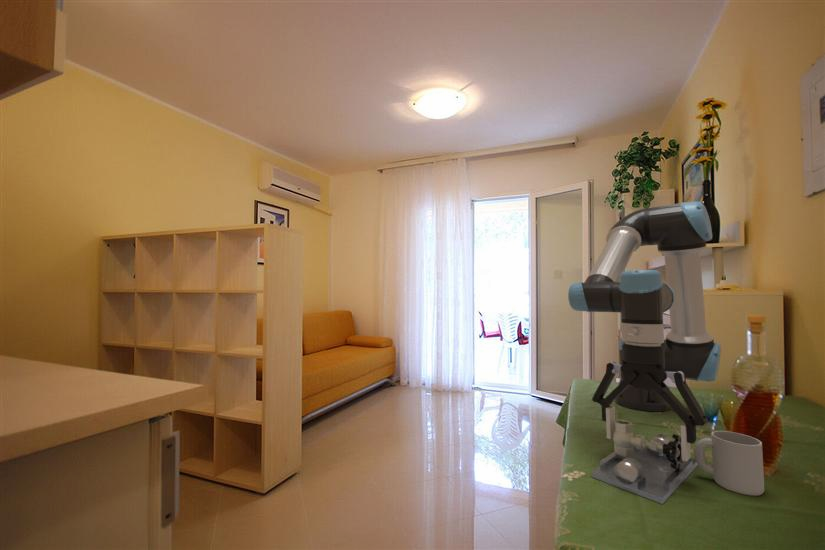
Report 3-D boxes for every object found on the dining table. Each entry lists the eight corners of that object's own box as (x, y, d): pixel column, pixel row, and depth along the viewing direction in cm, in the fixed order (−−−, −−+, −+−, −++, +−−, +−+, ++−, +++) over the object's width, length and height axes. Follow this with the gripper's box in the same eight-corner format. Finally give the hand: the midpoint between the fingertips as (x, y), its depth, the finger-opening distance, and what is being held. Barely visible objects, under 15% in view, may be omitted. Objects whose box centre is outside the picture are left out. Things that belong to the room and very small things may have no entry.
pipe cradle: (635, 446, 86) (634, 427, 86) (697, 465, 76) (696, 442, 77) (591, 477, 71) (590, 453, 71) (662, 504, 62) (661, 476, 62)
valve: (607, 454, 77) (675, 475, 68) (606, 423, 77) (674, 439, 68) (619, 446, 81) (684, 465, 72) (618, 416, 81) (683, 431, 72)
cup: (769, 501, 63) (766, 449, 64) (696, 484, 69) (694, 436, 69) (759, 483, 69) (757, 436, 70) (693, 469, 75) (692, 425, 75)
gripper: (575, 339, 83) (577, 433, 81) (714, 352, 63) (720, 476, 62) (590, 336, 87) (592, 426, 86) (723, 348, 68) (729, 463, 67)
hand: (646, 447), depth 74 cm, fingers open, 13 cm apart
